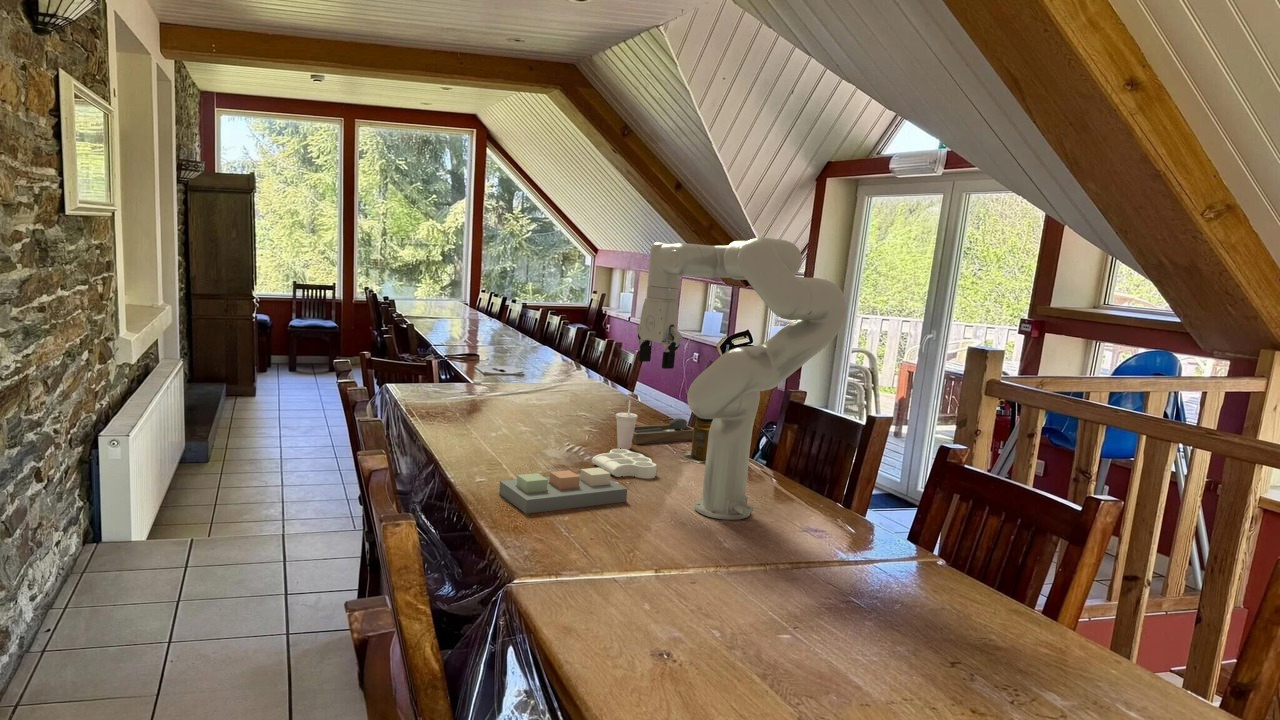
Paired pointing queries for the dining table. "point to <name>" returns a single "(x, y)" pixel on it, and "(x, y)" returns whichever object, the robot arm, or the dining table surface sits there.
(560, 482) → the terracotta button
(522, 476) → the sage button
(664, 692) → the dining table surface
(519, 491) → the button panel
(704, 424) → the condiment
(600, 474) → the cream button
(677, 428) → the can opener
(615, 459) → the white paint palette
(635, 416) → the smoothie
